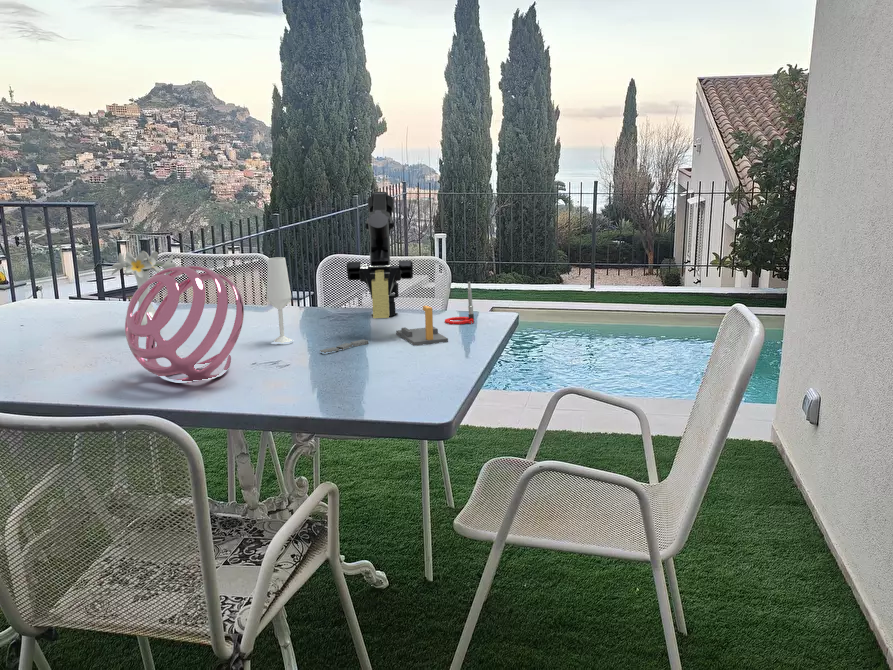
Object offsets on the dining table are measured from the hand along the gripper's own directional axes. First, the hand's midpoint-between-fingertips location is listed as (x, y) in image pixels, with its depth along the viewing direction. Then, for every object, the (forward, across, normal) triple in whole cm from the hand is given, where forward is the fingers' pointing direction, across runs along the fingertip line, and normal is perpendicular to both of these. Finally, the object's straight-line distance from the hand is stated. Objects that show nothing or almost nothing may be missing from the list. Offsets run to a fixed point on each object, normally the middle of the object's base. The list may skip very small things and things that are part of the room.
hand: (380, 294), depth 202 cm
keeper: (+8, -11, -10) cm, 17 cm away
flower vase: (-5, +72, -25) cm, 76 cm away
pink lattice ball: (+32, +45, +14) cm, 57 cm away
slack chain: (+15, +10, -4) cm, 19 cm away
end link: (+4, 0, -6) cm, 7 cm away
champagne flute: (+8, +28, -11) cm, 31 cm away
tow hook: (-6, -24, -25) cm, 35 cm away
